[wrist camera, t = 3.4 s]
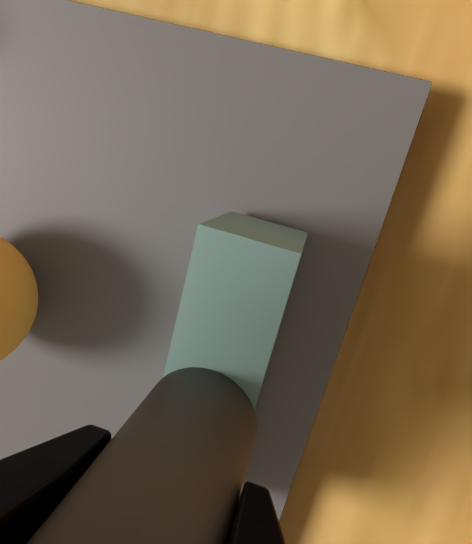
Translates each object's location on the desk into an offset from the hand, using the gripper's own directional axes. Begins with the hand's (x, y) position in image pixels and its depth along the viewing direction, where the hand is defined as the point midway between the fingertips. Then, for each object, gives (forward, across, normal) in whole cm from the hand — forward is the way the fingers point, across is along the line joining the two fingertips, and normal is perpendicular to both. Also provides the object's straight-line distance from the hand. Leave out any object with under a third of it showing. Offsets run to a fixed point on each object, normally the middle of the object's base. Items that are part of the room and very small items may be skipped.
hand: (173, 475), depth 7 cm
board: (+6, +8, 0) cm, 10 cm away
